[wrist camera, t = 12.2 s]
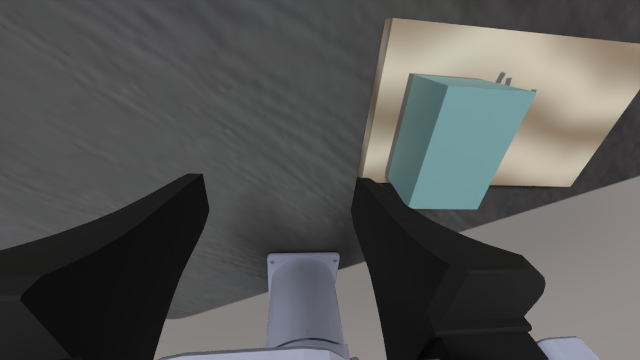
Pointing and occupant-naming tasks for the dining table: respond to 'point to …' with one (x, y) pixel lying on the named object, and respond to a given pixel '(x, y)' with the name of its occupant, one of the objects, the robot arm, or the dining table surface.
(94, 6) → the dining table surface
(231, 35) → the dining table surface
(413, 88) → the block
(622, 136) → the dining table surface
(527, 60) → the birch board
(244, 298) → the dining table surface
